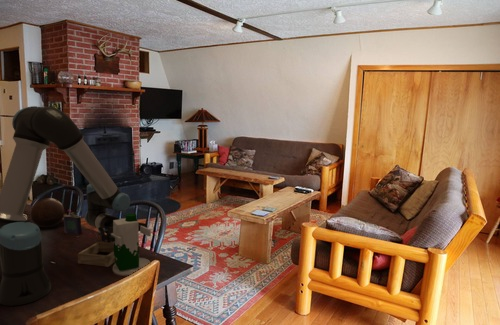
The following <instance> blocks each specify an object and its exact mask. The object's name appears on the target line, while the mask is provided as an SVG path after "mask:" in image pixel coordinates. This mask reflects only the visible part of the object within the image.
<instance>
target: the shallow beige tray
mask: <svg viewBox="0 0 500 325" xmlns="http://www.w3.org/2000/svg"><path fill="white" fill-rule="evenodd" d="M100 252H102V253H108V254H107V255H106V254H105V255H104V254H98V253H100ZM115 263H116V262H115V257H114V244H113V242H110V243H107V241H104V242H102V241H96V242H95V243H93V244H92V245H90V246H89V247H87V248H85V249H83V250H82V251H80V252H78V253H77V264H81V265H82V264H83V265H91V266H98V267H106V268H108V267H110V266H111V265H114V264H115Z"/></svg>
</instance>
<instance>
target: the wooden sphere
mask: <svg viewBox="0 0 500 325" xmlns="http://www.w3.org/2000/svg"><path fill="white" fill-rule="evenodd" d="M63 216H65V208H64V205H63V203H62V202H60V200H57V199H55V198H52V197H47V198H46V197H45V198H42V199H40V200H38V201H36V203H34V205H33V206H32V208H31V210H30V217H31V220H32V221H33V222H34V224H36V225H37V226H38V227H39V228H40V227H41V228H45V229H47V228H53V227H55V226H57V225H58V224H60V223H61V222H62V220H64V218H63ZM33 222H32V223H33Z"/></svg>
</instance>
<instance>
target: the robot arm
mask: <svg viewBox="0 0 500 325" xmlns="http://www.w3.org/2000/svg"><path fill="white" fill-rule="evenodd" d="M11 121H12V122H11V123H12V124H11V125H12V128H13V130H14V133H13V136H12V139H13V141H14V143H15V147H14V150H13V153H12V156H11V159H10V162H9V164H8V168H7V171H6V173H5V177H4V181H3V183H2V187H1V189H0V268H1V279H0V305H3V306H7V307H8V306H10V307H14V306H22V305H25V304H30V303H34V302H35V301H38V300H40V299H42V298H44V297H45V296H47V295H48V294H49V293H50V292H51V290H52V283H51V279H50V278H49V275H48V274H47V272H46V270H45V268H44V258H43V256H44V255H43V243H42V238H43V237H42V233H41V229H40V226H38V225H37V224H35V223H33V222H30V221H29V222H28V221H27V218H26V217H25V216H24V213H25V209H26V207H27V203H28V199H29V196H30V193H31V191H32V190H31V189H32V186H33V183H34V180H35V178H36V177H35V176H36V174H37V170H38V167H39V164H40V161H41V158H42V155H43V151H44V150H47V149H49V147H50V144H51V143H52V144H53V145H55V147H56V148H57V149H58V150H59V151H62V152H64V153H65V154H66V155H67V157H68V158H69V159H70V160H71V162H72V163H73V165H74V166H75V167H76V168H77V169H78V170H79V172H80V173H81V174H82V176H83V177H84V178H85V179H86V181H87V182H88V183H89V184H87V185H86V203H87V211H86V212H85V214H84V221H85V222H86V223H87V224H88V226H90V227H93V228H96V229H97V232H98V235H99V236H100V240H101V242H107V243H113V242H115V243H116V244H118V245H122V242H121V237H119V236H115V235H114V234H113V220H119V219H120V218H118V217H117V216H115V215H113V214H110V213H108V212H107V209H109V210H112V211H115V212H125V211H126V210H127V209H128V208H129V207H130V205H131V198H130V196H129V194H127V193H125V192H121V190H120V189H119V188H118V186H117V185H116V183H115V182H114V181H113V179H112V178H111V177H110V175H109V173H108V172H107V170H106V169H105V168H104V167H103V165H102V164H101V163H100V161H99V160H98V159H97V157H96V156H95V154H94V152H92V150H91V149H90V147H89V146H88V144H87V142H85V141H84V138H85V137H84V134H83V132H82V131H81V129H80V128H79V126H77V124H76V123H75V122H74V120H72V119H71V117H69V115H67V114H66V113H65V112H64V111H62V110H61V109H58V108H57V107H53V106H35V105H32V106H27V107H23V108H21V109H19V110H18V111H16V113H15V114H14V115H13V118H12V120H11ZM138 222H139V221H138ZM138 231H139V233H141V234H143V235H145V236H147V237H151V236H152V235H151V234H152V232H151V229H150V228H149V227H147V223H145V222H139V224H138Z"/></svg>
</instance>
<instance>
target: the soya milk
mask: <svg viewBox="0 0 500 325" xmlns="http://www.w3.org/2000/svg"><path fill="white" fill-rule="evenodd" d="M118 219H119V220H113V234H114V235H115V236H119V237H121V242H122V245H118V244H116V243H115V242H112V243H113V244H114V257H115V262H114V263H116V265H117V267H118V269H119V271H122V270H127V269H132V268H137V267H139V258H140V236H139V235H140V234H139V233H140V231H138V224H139V220H138V218H137V213H127V214H125V218H118Z"/></svg>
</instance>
